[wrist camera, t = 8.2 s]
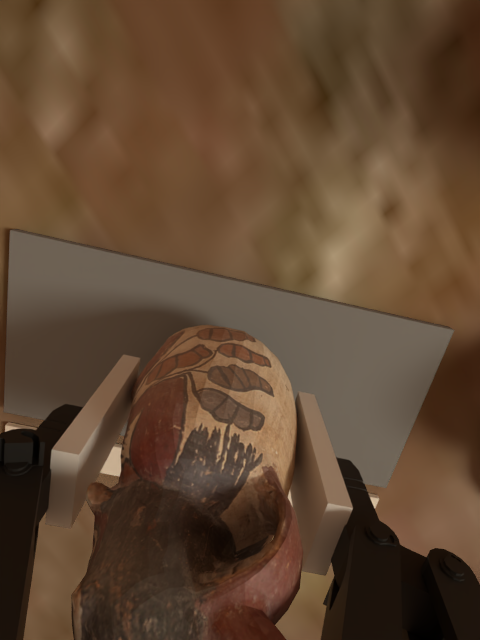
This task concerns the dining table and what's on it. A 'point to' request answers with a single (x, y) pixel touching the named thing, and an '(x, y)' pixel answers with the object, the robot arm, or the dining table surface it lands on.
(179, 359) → the figurine
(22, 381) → the mat
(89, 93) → the dining table surface
